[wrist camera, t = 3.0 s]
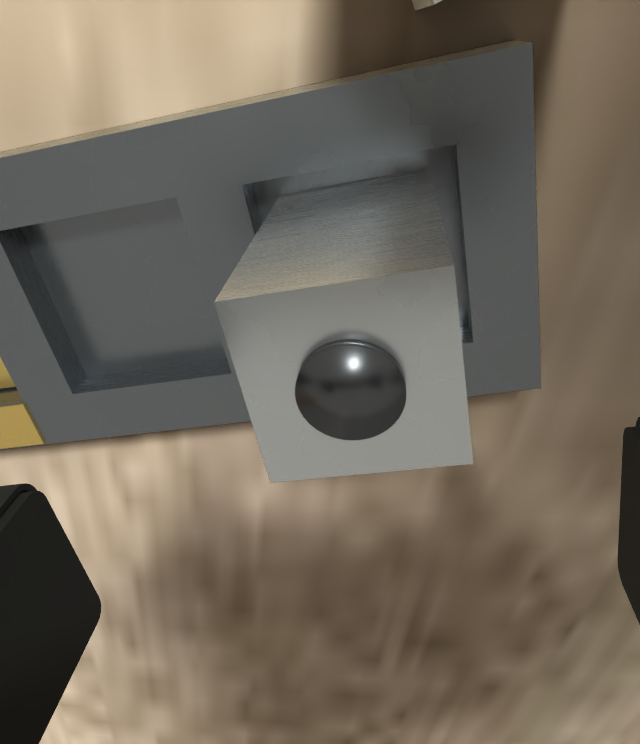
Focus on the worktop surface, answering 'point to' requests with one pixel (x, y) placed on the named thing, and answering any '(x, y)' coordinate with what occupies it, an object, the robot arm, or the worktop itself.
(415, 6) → the block with ball knob
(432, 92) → the tray with square compartments
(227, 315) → the grey block with knob
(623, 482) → the robot arm
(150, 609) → the worktop surface
